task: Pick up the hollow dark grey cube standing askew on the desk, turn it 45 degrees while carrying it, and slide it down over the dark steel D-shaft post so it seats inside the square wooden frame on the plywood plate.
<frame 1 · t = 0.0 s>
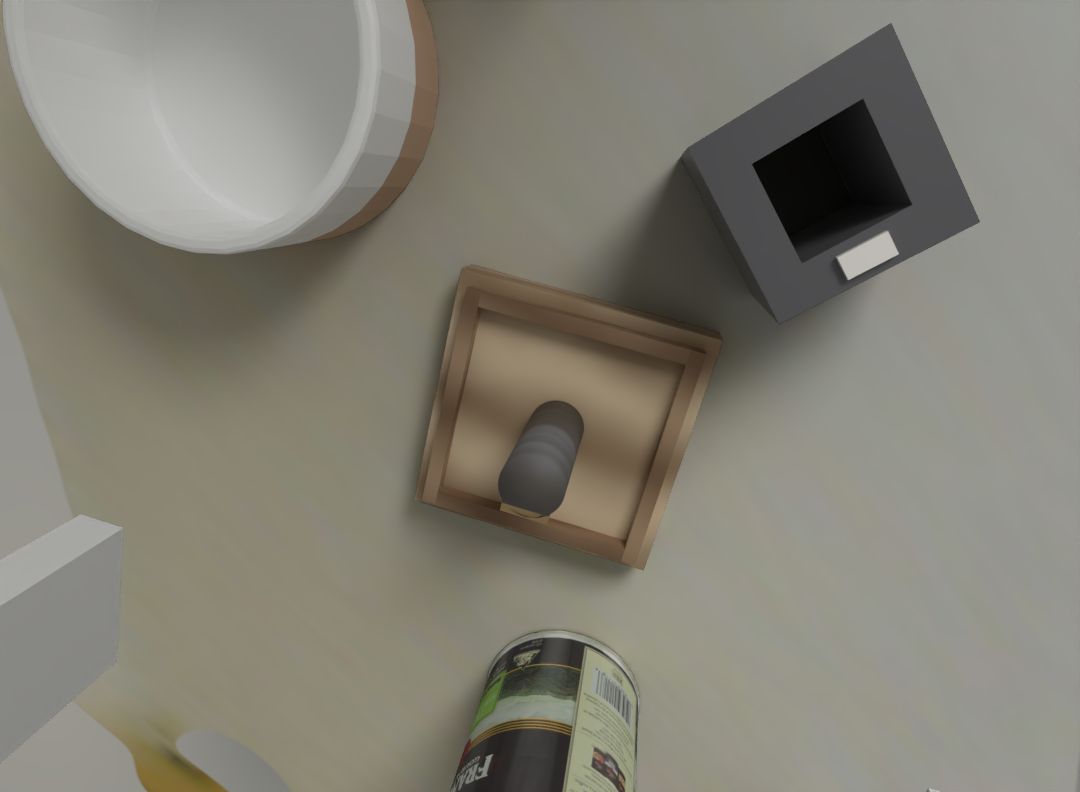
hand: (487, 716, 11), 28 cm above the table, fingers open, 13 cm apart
bowl: (288, 78, 36), on the table
coffee can: (563, 693, 45), on the table
hollow dark grey cube: (791, 185, 33), on the table
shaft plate: (561, 414, 39), on the table
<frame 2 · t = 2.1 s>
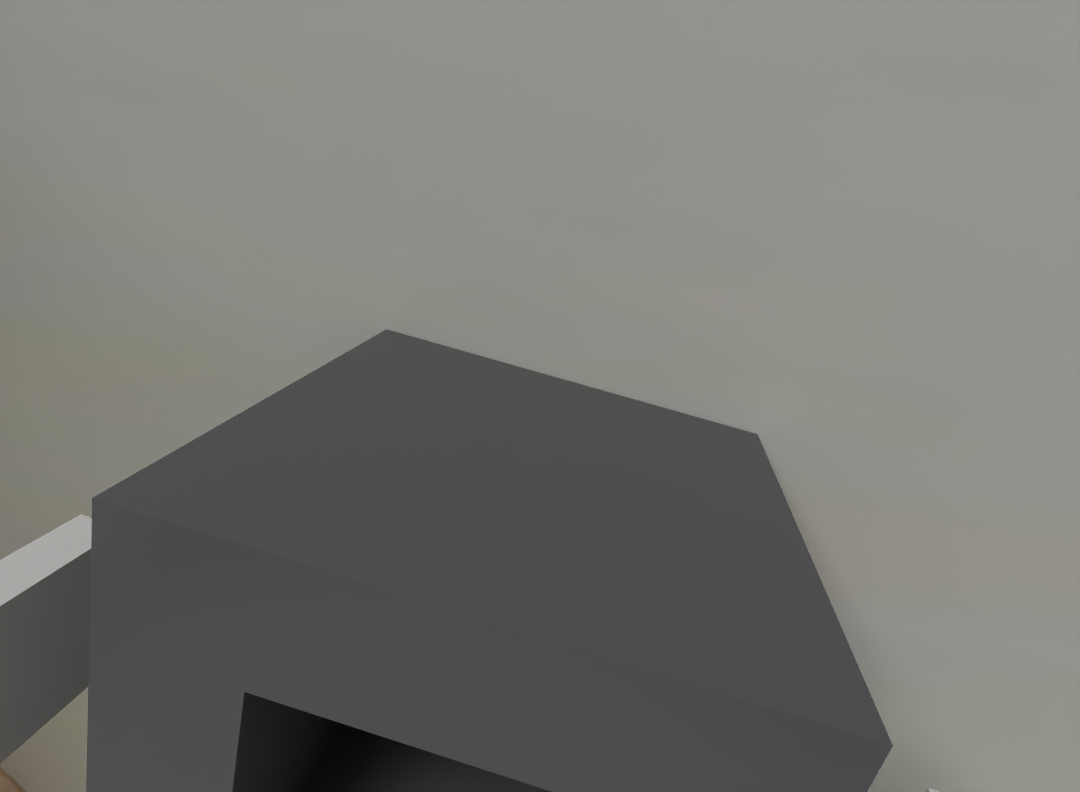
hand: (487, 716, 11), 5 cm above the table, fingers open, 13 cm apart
hollow dark grey cube: (524, 542, 15), on the table
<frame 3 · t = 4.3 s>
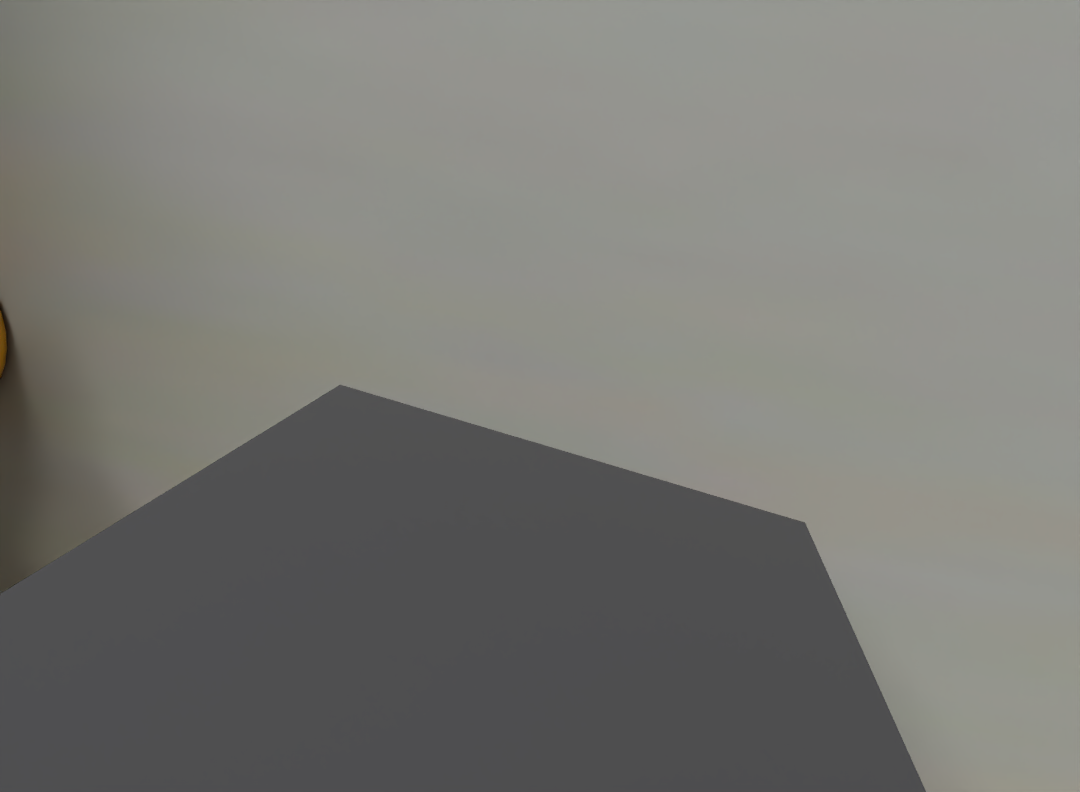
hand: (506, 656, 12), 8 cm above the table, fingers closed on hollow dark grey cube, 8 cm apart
hollow dark grey cube: (511, 644, 12), point 7 cm above the table, touching gripper
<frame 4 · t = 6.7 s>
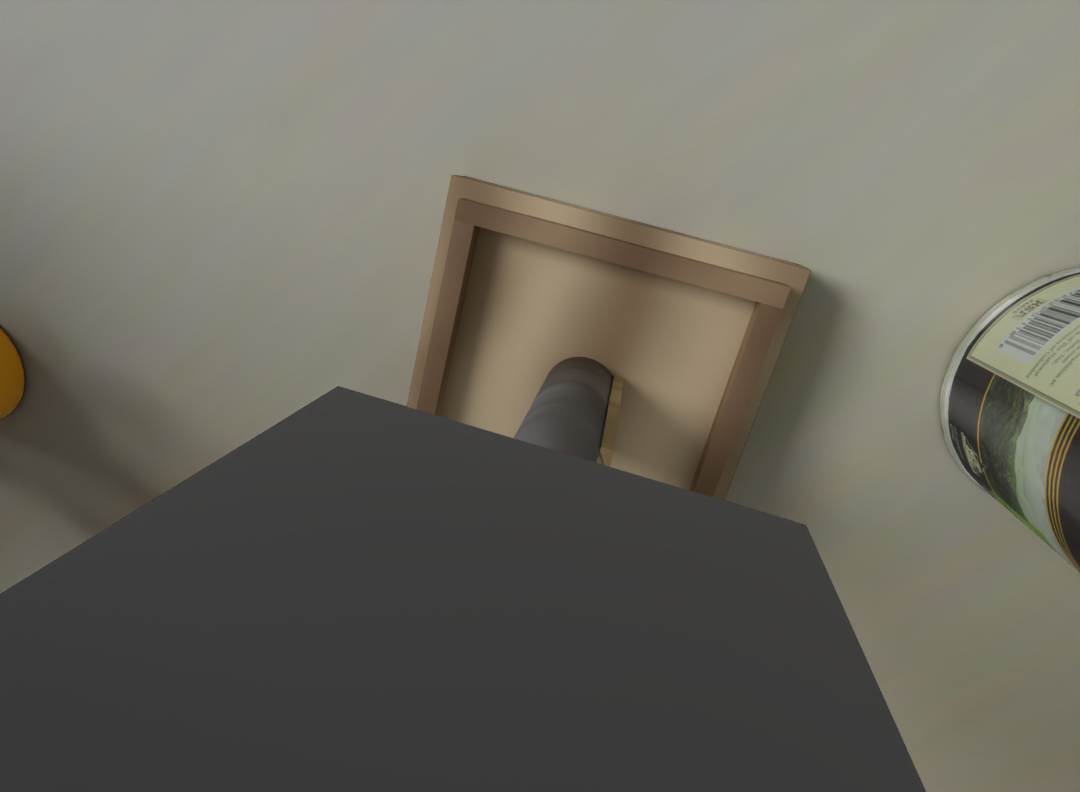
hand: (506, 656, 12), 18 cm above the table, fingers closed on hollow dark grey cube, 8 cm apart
coffee can: (1076, 391, 27), on the table
hollow dark grey cube: (510, 647, 12), point 18 cm above the table, touching gripper
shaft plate: (584, 379, 29), on the table
when the fingers open (4 cm above the table, at t = 9.4 s): hollow dark grey cube drops 2 cm, resting on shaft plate.
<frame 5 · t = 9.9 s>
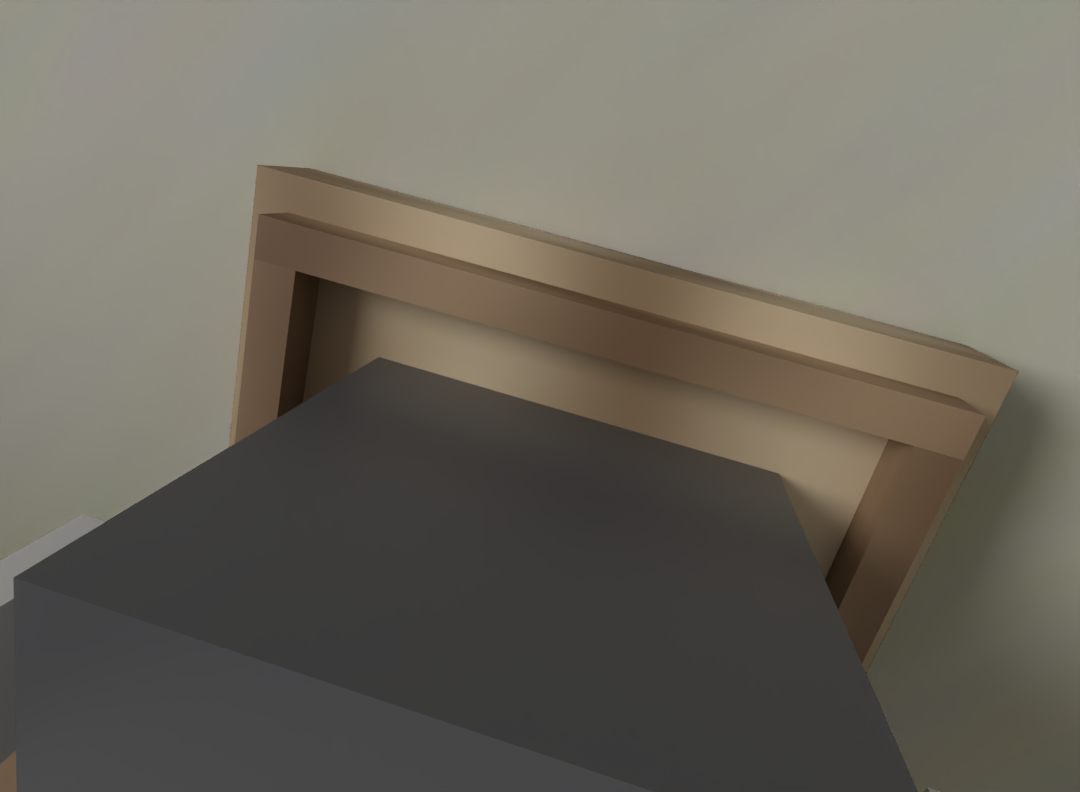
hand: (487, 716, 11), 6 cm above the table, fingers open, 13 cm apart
hollow dark grey cube: (525, 585, 14), point 2 cm above the table, touching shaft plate
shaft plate: (543, 540, 16), on the table
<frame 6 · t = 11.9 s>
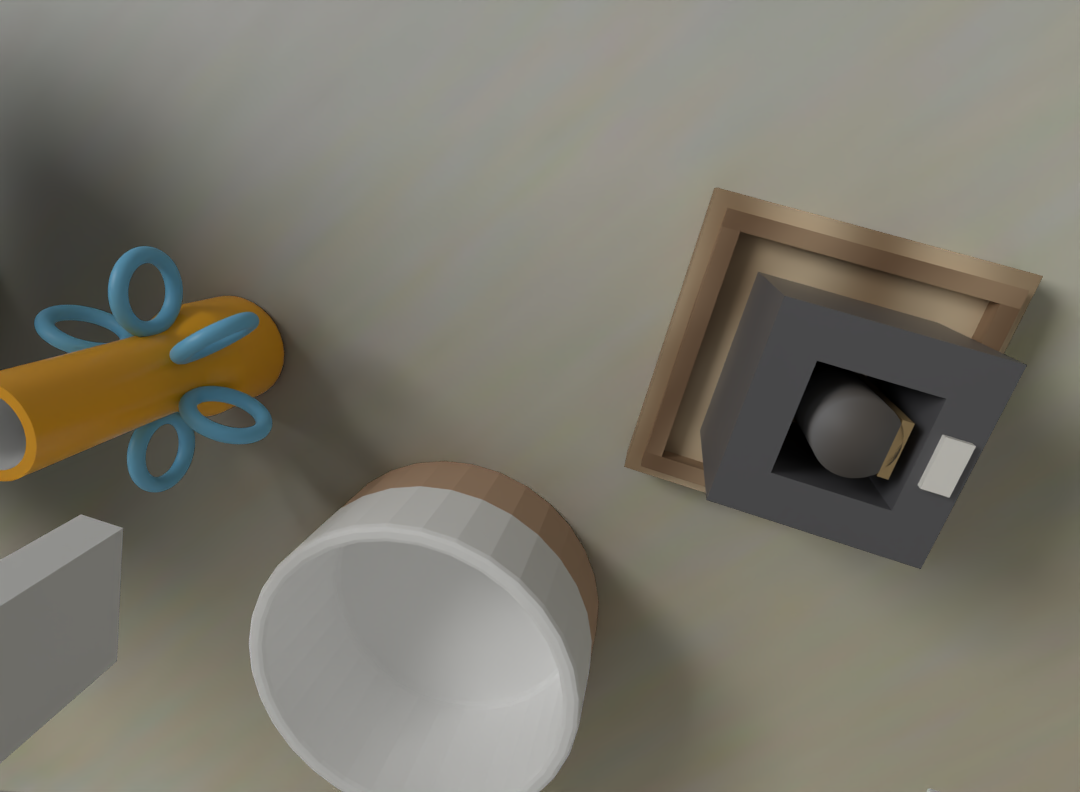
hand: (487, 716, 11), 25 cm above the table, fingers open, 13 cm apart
orange tube with rings: (241, 344, 39), on the table
bowl: (459, 589, 41), on the table
hollow dark grey cube: (812, 379, 31), point 2 cm above the table, touching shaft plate
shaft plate: (805, 370, 33), on the table
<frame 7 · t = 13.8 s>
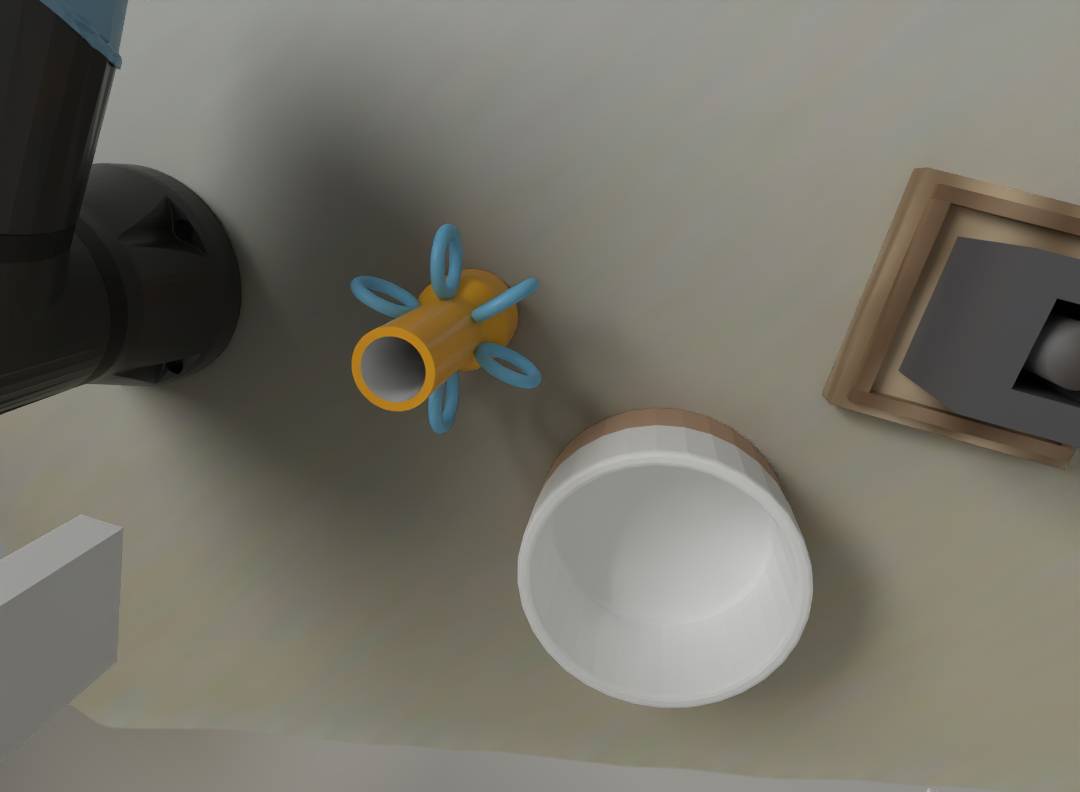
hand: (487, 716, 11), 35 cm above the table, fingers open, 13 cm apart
orange tube with rings: (476, 311, 45), on the table
bowl: (659, 521, 47), on the table
hollow dark grey cube: (997, 324, 38), point 2 cm above the table, touching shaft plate
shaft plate: (982, 319, 40), on the table
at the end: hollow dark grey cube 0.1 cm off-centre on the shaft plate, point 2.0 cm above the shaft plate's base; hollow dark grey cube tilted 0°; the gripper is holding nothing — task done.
